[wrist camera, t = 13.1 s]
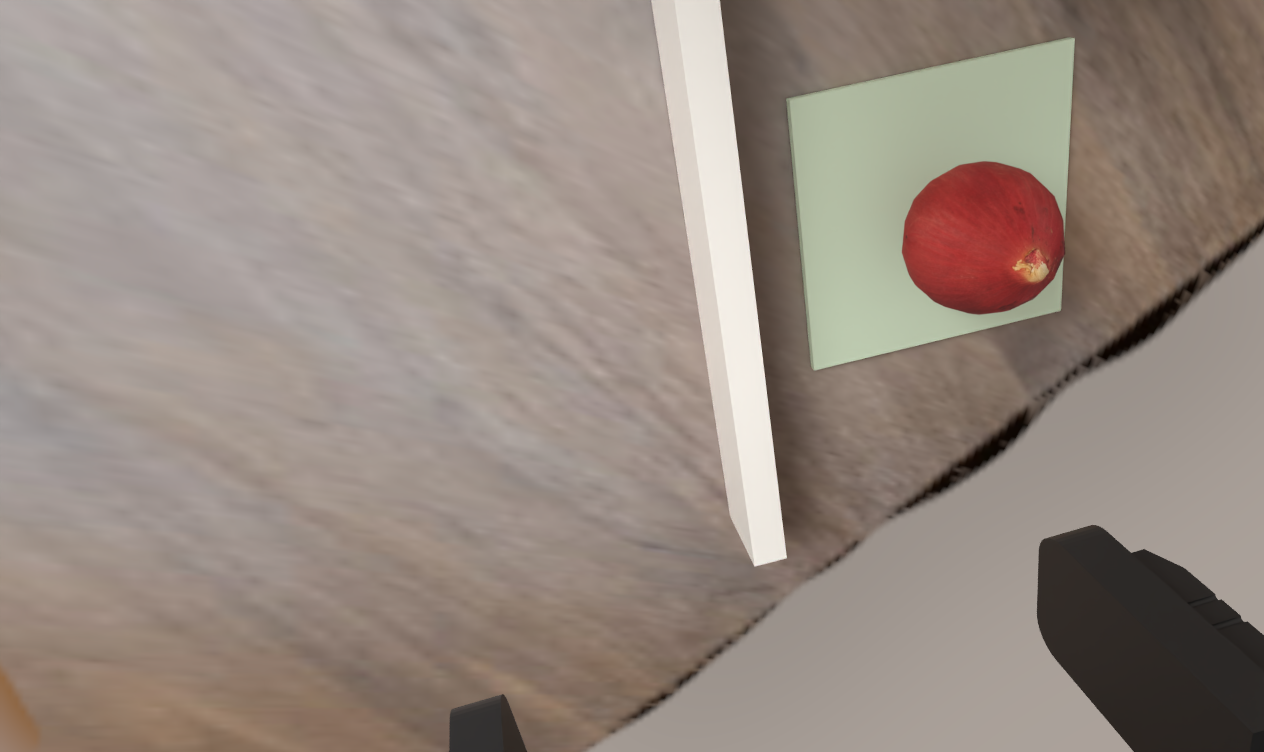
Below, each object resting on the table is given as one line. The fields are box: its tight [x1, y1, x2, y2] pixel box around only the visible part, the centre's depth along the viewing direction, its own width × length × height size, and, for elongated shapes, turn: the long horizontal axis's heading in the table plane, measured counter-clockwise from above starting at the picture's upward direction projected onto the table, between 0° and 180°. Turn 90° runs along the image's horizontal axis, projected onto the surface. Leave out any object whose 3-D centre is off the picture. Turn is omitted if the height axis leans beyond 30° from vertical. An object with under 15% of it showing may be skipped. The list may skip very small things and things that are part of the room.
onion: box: [902, 161, 1065, 315], centre depth 33 cm, size 6×6×8 cm
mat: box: [786, 37, 1075, 371], centre depth 37 cm, size 12×12×1 cm
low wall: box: [651, 0, 787, 566], centre depth 35 cm, size 26×2×4 cm, turn 10°
